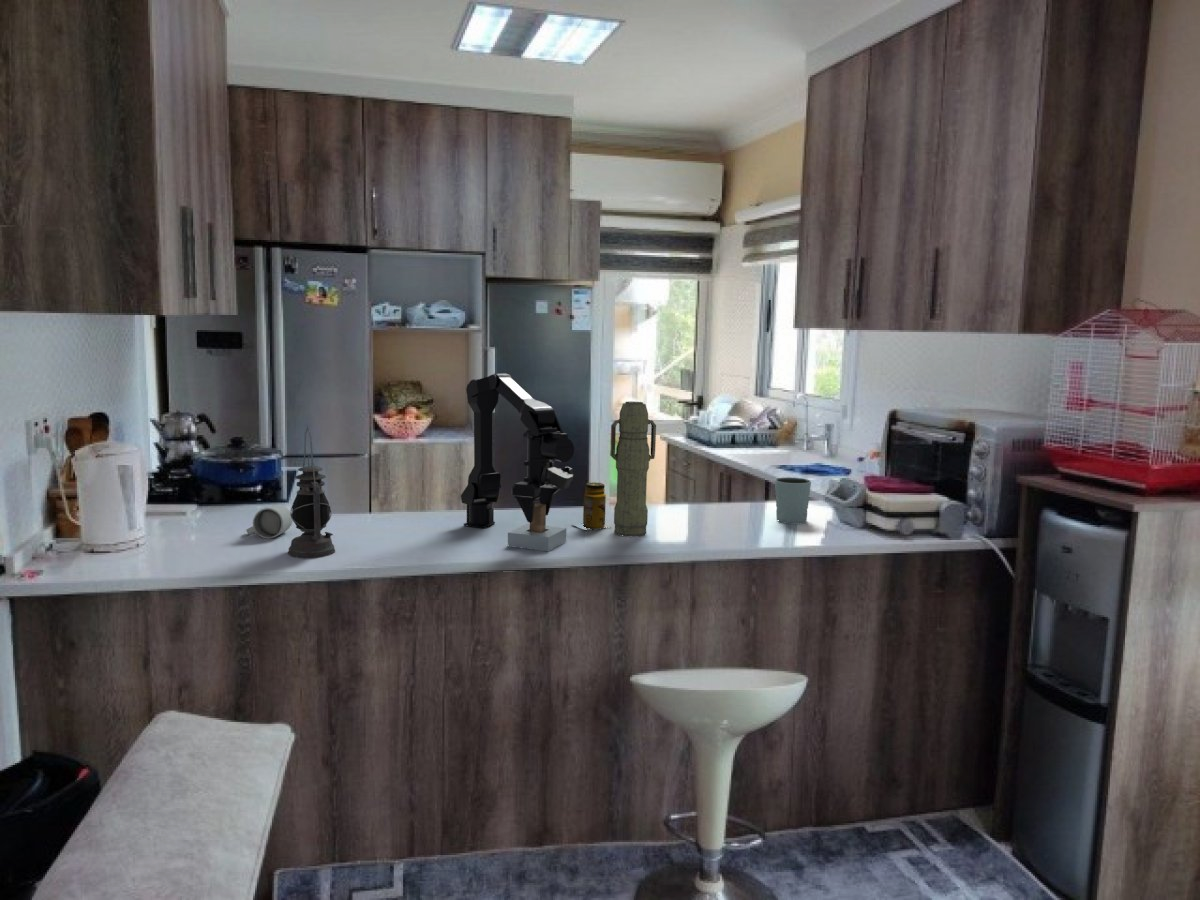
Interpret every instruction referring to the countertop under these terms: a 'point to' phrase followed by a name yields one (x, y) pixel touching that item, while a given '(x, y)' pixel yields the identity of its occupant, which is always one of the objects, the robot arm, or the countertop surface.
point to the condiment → (594, 506)
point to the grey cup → (792, 499)
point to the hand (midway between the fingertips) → (537, 518)
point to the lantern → (311, 513)
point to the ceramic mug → (271, 522)
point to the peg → (539, 519)
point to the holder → (537, 538)
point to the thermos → (632, 468)
